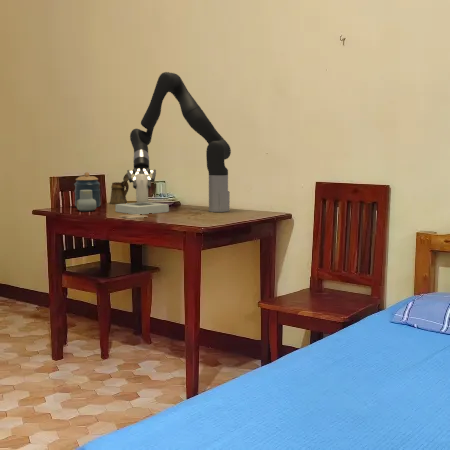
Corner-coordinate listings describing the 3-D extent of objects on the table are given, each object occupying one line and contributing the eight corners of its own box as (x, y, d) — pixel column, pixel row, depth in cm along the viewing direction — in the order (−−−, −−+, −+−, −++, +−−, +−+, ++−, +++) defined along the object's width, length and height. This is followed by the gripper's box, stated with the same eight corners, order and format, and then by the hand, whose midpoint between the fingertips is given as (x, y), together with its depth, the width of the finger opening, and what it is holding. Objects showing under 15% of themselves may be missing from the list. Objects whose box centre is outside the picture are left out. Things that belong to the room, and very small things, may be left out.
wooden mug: (127, 205, 325) (126, 170, 322) (106, 203, 331) (105, 170, 329) (137, 203, 333) (136, 169, 330) (116, 202, 339) (115, 169, 336)
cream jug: (136, 201, 296) (135, 173, 294) (148, 200, 296) (147, 173, 295) (136, 202, 288) (135, 174, 286) (148, 202, 289) (147, 174, 287)
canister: (74, 205, 321) (72, 171, 319) (99, 205, 325) (98, 171, 323) (75, 208, 309) (74, 173, 307) (102, 207, 313) (101, 172, 310)
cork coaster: (147, 217, 273) (147, 216, 273) (130, 219, 267) (130, 217, 267) (136, 215, 279) (136, 214, 279) (119, 217, 273) (119, 215, 273)
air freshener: (97, 211, 295) (96, 190, 294) (79, 212, 292) (78, 191, 291) (93, 209, 305) (92, 189, 304) (76, 210, 302) (75, 189, 301)
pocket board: (168, 211, 293) (168, 204, 293) (137, 215, 281) (137, 207, 281) (146, 208, 307) (146, 201, 306) (115, 211, 295) (115, 204, 294)
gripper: (126, 156, 297) (126, 182, 287) (156, 155, 299) (157, 182, 289) (126, 166, 303) (126, 193, 293) (156, 166, 305) (157, 192, 295)
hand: (142, 187), depth 291 cm, fingers closed on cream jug, 5 cm apart
